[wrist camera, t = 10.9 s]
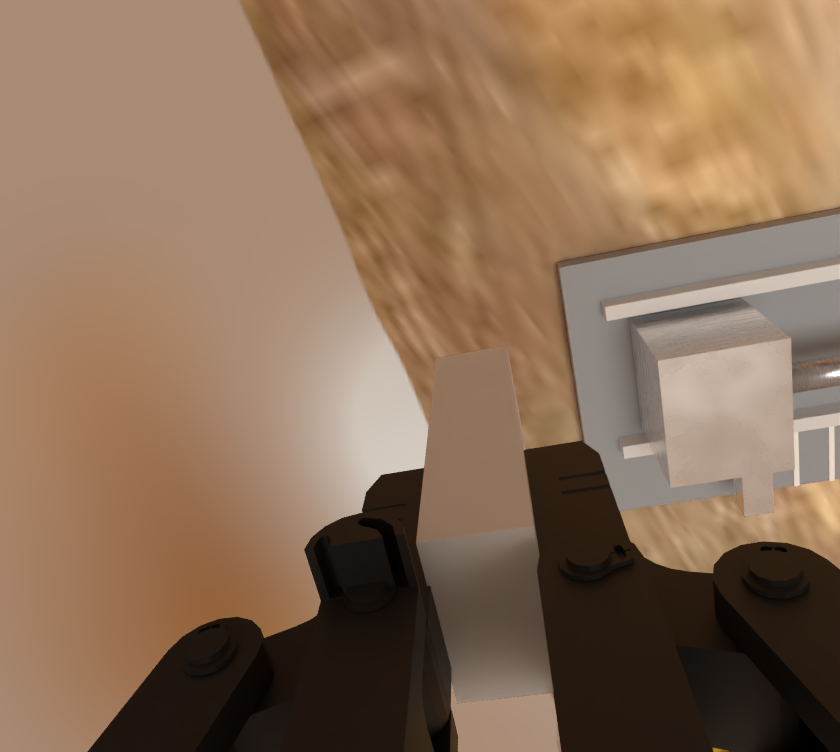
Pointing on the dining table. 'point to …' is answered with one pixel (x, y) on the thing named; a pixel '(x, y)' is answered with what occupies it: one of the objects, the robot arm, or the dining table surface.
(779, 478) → the grey slider board
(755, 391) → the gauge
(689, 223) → the dining table surface
